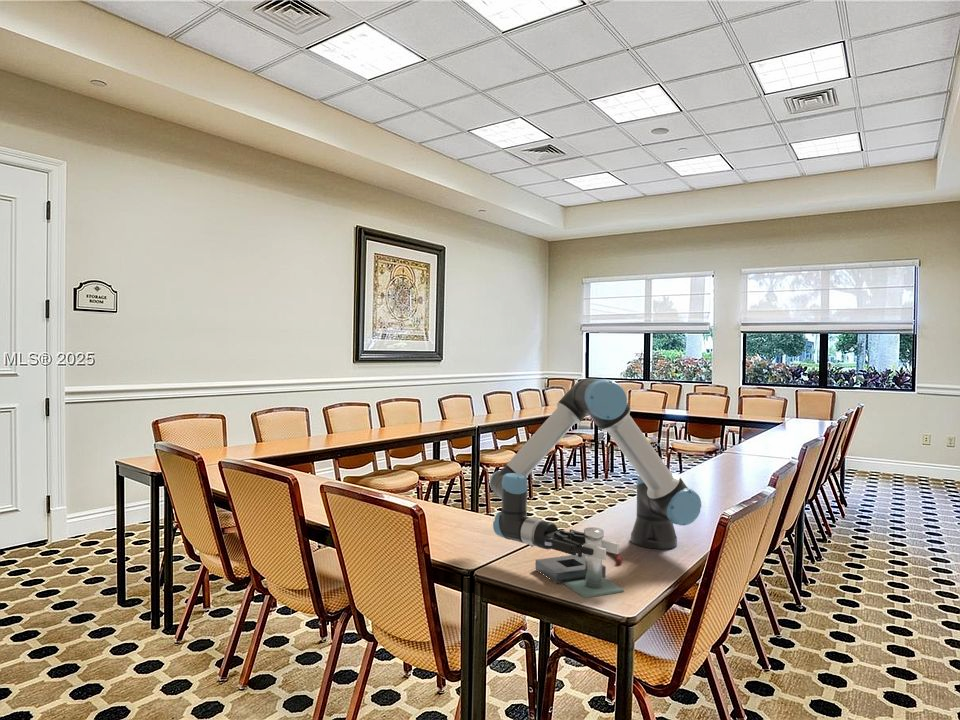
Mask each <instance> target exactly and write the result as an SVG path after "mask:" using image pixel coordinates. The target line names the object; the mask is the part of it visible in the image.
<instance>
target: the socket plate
mask: <svg viewBox="0 0 960 720" xmlns="http://www.w3.org/2000/svg"><path fill="white" fill-rule="evenodd" d="M534 568H535V569H536V570H538V571H539V572H541V573H542V574H544V575H545V576H547V577H548V578H550V579H551V580H552V581H554V582H555V583H562V584H565V582H571V581H577V580H584V579H585V555H584V554H583V553H582V557H578V554H577V553H576V555H571V554H568V555H562V556H555V557H554V556H553V557H546V558H539V559H535V567H534ZM535 569H534V570H535ZM606 569H607V568H606V565H605V564H602V577H603V578H605V577H606V572H607V571H606ZM536 570H535V571H536ZM538 571H537V572H538ZM539 572H538V573H539ZM541 573H540V574H541ZM542 574H541V575H542ZM544 575H543V576H544ZM545 576H544V577H545ZM547 577H546V578H547ZM548 578H547V579H548ZM550 579H549V580H550ZM551 580H550V581H551ZM552 581H551V582H552ZM554 582H553V583H554ZM555 583H554V584H555Z"/></svg>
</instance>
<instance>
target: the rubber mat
mask: <svg viewBox="0 0 960 720" xmlns="http://www.w3.org/2000/svg"><path fill="white" fill-rule="evenodd" d="M566 585H567V588H569V587H570V588H569V589H571V590H572V591H574V593H577V594H578V595H581V597H583V598H585V599H587V598H593V597H599V596H606V595H611V594H616V593H617V594H618V593H624V589H623V588H622V587H620V586H618V585H616V584H615V583H613V582H611V581H609V580H607V579H606V578H605V577H602V587H601V588H598V589H591V588H588V587H586V586H585V579H584V580H577V581H571V582H565V583H564V586H566Z"/></svg>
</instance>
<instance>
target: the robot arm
mask: <svg viewBox="0 0 960 720" xmlns="http://www.w3.org/2000/svg"><path fill="white" fill-rule="evenodd" d="M627 396H628V395H627V394H626V391H625V390H624V388H623V387H622V386H621V385H620V384H619V383H617V382H615V381H613V380H610V379H606V378H592V377H591V378H583V379H581V380H579V381H577V382H576V383H575V384H574V385H572V386H571V388H570V389H569V390H568V391H567V392H566V393H565V394H564V395H563V397H561V398H560V400H558V402H557V403H556V409H555V410H554V411H553V412H552V414H550V416H548V418H546V420H545V421H544V422H543V423H542V424H541V426H540V427H539V428H538V429H537V430H536V431H535V432H534V433H533V435H531V437H530V438H529V439H528V440H527V441H526V442H525V443H524V445H523V446H522V447H521V448H520V449H519V450H518V451H517V453H515V454H514V456H513V457H511V459H510V460H509V461H508V463H506V464H505V465H504V466H503V467H502V469H500V470H496V471H495V472H493V473H492V474H491V476H490V478H489V486H490V489H491V490H492V492H493V493H494V494H495V495H497V496H498V497H499V499H501V511H499V512H498V513H497V514H496V515H495V517H494V520H493V523H492V528H493V532H494V533H495V534H496V535H497V536H499V537H501V538H504V539H506V540H509V541H514V542H519V543H523V544H526V545H530V547H532V548H533V547H538V548H540V549H544V550H548V551H549V550H555V551H557V552H561V553H565V554H568V555H577V554H578V557H582V554H584V555H588V556H591V557H595V558H599V559H602V561H603V560H604V561H605V560H606V559H607V553H608V552H610V553H614V554H618V553H620V552H619V547H620V546H619V545H620V544H619V543H618V542H614V541H610V540H605V539H602V548H601V547H597V546H593V545H589V544H585V537H584V531H583V532H582V531H577V530H575V529H569V531H566V530H564V529H560V530H559V529H558V526H557V525H556V524H555V523H554V522H551V521H546V520H542V519H537V518H533V517H529V516H528V515H527V508H528V488H529V487H528V485H529V484H528V477H529V475H531V473H532V472H533V471H534V469H535V468H537V466H539V464H540V463H541V462H542V461H543V459H545V458H546V456H547V455H548V454H549V453H550V452H551V451H552V450H553V448H554V447H555V446H556V445H557V444H558V443H559V442H560V441H561V439H562V438H563V437H564V436H566V434H567V433H568V432H569V430H570V429H571V428H572V427H573V426H574V425H575V424H580V423H581V422H582V421H583V420H584V419H585V418H586V417H588V416H589V417H590V418H591V420H592V421H593V422H594V424H595V425H596V426H597V428H598V429H599V430H602V431H606V432H607V433H608V435H609V436H610V438H611V439H612V440H613V441H614V443H615V444H616V446H617V447H618V448H619V450H620V451H621V452H622V454H623V455H624V456H625V458H626V459H627V462H629V464H630V465H631V467H632V468H633V469H634V470H635V472H636V474H637V475H638V477H637V479H636V480H637V482H636V517H635V518H636V519H635V521H634V525H633V527H632V530H631V533H630V542H631V543H633V544H634V545H636V546H639V547H643V548H646V549H647V548H648V549H656V550H665V549H666V550H668V549H673V548H675V547H677V546H678V536H677V532H676V531H675V530H676V529H675V527H674V525H677V526H688V525H690V524H692V523H694V522H695V521H696V519H698V518H699V515H700V513H701V508H702V501H701V497H700V496H699V494H698V493H697V492H696V491H694V490H693V488H692V489H691V488H689V487H688V486H687V485H686V484H685V482H684V481H683V479H682V478H681V476H680V475H679V474H678V473H677V472H676V473H675V472H671V471H670V469H669V468H668V467H667V465H666V464H665V462H664V461H663V459H662V458H661V457H660V456H659V454H658V452H657V451H656V450H655V448H654V447H653V446H652V444H651V442H650V441H649V440H648V439H647V437H646V435H645V434H644V433H643V431H642V430H641V428H640V427H639V426H638V425H637V423H636V422H635V421H634V419H633V417H632V416H631V415H630V413H631V406H630V405H629V403H628V402H627V401H628V397H627Z"/></svg>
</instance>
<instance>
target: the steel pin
mask: <svg viewBox="0 0 960 720" xmlns="http://www.w3.org/2000/svg"><path fill="white" fill-rule="evenodd" d="M583 533H584V537H585V544H589V545H593V546H597V547H601V548H602V540H603V538H604V533H605V532H604V529H602V528H599V527H585V528H583ZM602 565H603V559H599V558H595V557H591V556H588V555H585V586H586V587H588V588H591V589H598V588H601V587H602Z"/></svg>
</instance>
